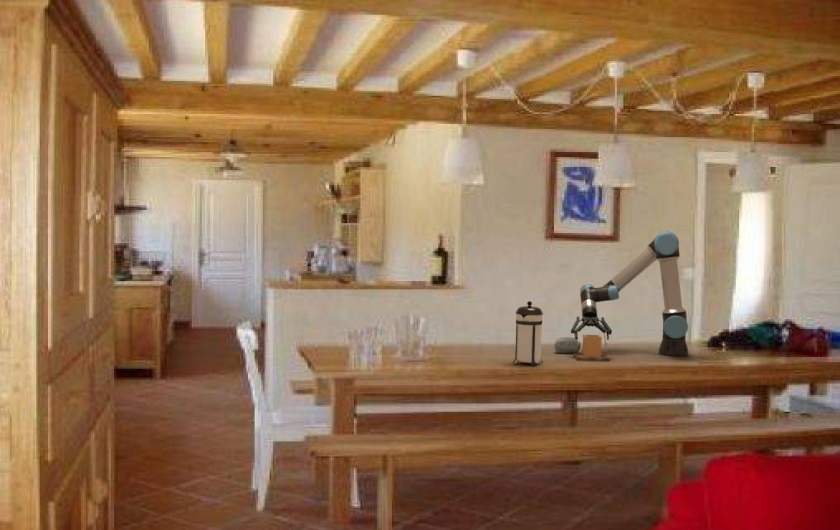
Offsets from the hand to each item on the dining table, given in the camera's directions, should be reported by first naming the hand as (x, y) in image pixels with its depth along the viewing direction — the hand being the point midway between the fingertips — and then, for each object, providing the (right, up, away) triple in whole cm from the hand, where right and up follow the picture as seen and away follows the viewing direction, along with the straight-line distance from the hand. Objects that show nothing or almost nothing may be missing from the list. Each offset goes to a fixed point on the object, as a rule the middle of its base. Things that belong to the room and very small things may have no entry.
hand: (592, 344), depth 445 cm
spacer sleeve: (0, -6, +3) cm, 7 cm away
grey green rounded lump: (-9, -7, +20) cm, 23 cm away
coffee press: (-34, -8, -17) cm, 39 cm away
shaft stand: (0, -8, +3) cm, 8 cm away
